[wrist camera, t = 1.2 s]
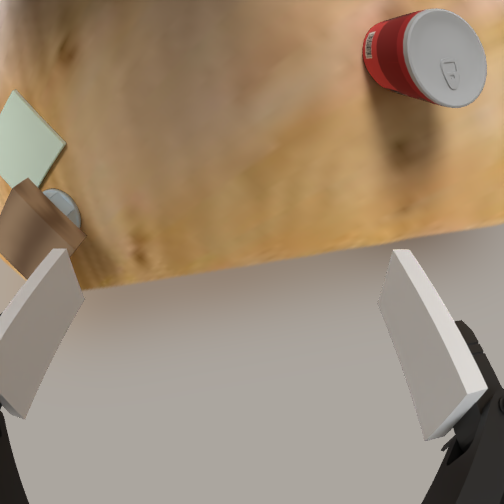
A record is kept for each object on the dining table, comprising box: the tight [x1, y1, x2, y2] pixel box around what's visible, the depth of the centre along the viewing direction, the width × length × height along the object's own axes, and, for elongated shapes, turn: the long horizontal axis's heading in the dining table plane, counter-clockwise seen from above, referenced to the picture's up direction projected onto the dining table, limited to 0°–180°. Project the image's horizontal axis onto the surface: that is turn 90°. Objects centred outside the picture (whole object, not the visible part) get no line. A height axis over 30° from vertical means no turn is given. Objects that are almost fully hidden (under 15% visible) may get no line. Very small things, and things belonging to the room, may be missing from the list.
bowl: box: [43, 189, 81, 229], centre depth 34 cm, size 8×8×4 cm
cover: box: [0, 178, 87, 279], centre depth 31 cm, size 10×10×3 cm
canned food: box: [362, 9, 487, 108], centre depth 21 cm, size 8×8×11 cm
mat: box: [0, 89, 66, 188], centre depth 30 cm, size 11×11×1 cm
